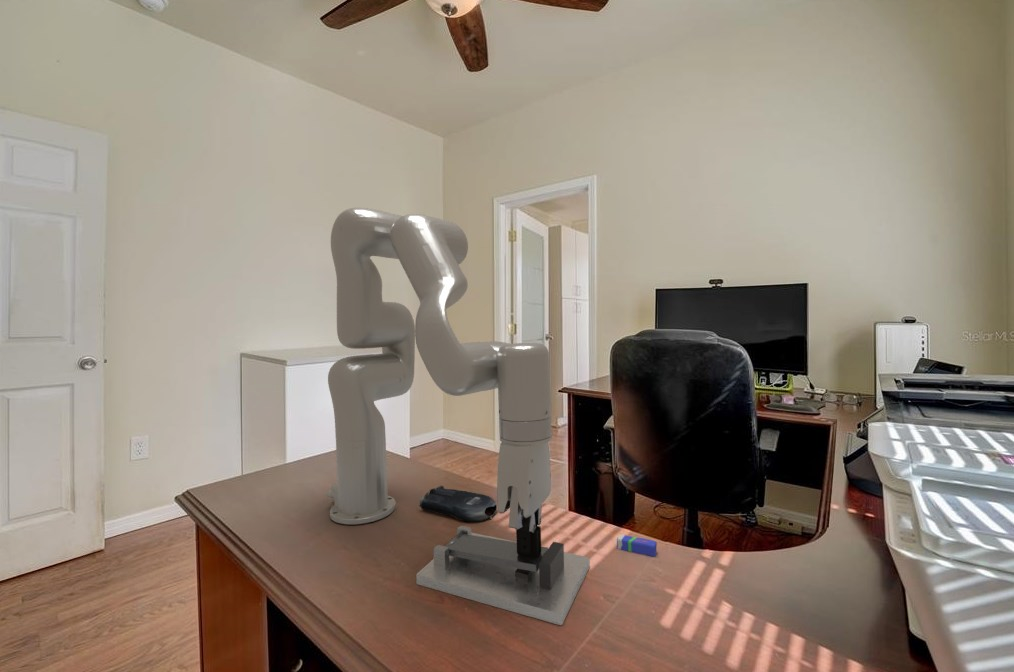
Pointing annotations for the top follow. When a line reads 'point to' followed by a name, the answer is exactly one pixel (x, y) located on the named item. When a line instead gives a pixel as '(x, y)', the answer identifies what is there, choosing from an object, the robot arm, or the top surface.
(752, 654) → the top surface
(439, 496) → the electronic device
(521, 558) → the retention lever
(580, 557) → the mounting plate
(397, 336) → the robot arm
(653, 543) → the eraser
